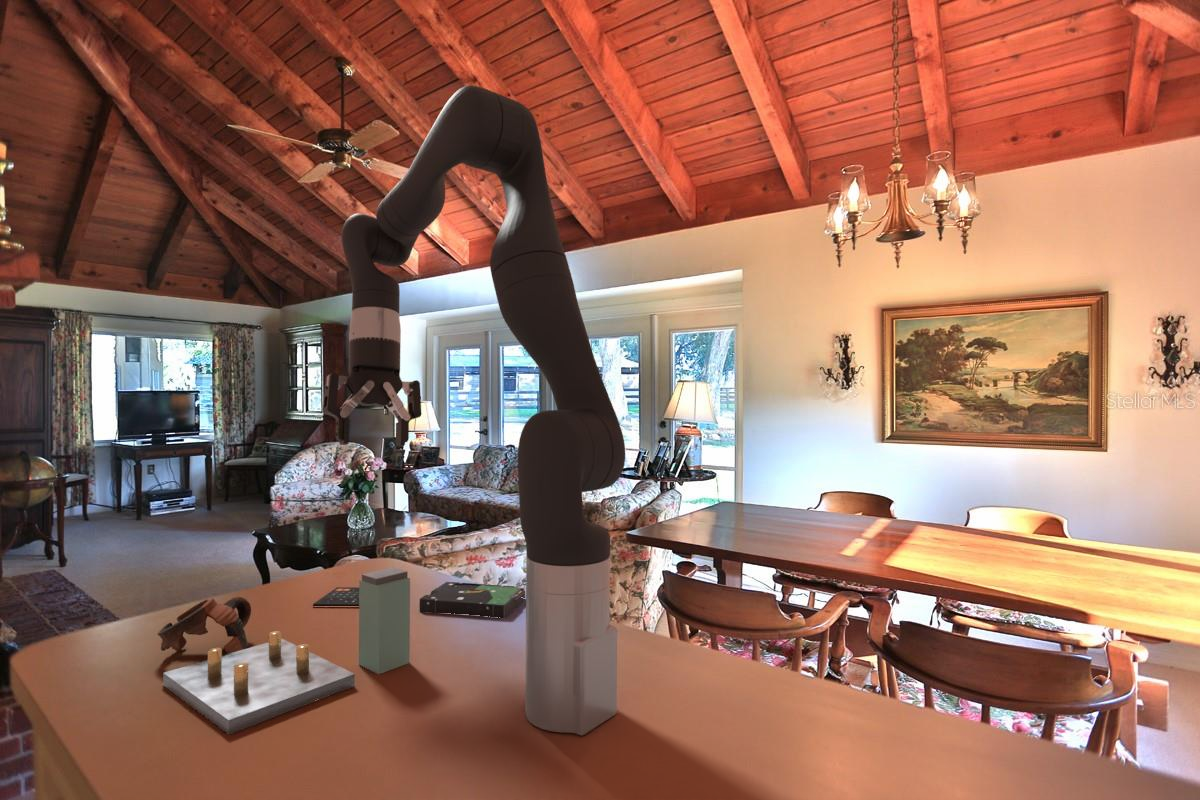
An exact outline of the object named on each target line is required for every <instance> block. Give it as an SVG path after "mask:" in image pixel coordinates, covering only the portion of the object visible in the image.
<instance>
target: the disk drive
mask: <svg viewBox="0 0 1200 800" xmlns="http://www.w3.org/2000/svg"><path fill="white" fill-rule="evenodd" d="M521 597H523V598H525V599H523V598H521ZM523 600H524V601H526V590H525V587H521V586H520V587H518V586H517V587H516V586H513V585H500V584H499V585H498V584H488V583H487V584H485V583H471V582H470V583H468V582H459V581H458V582H455V581H446V582H444V583H442V584H441V585H439V586H438V587H436V588H434V589H432V590H431V592H430V594H425V595H423V596H422V597H420V598H419V604H418V605H419V606H418V607H419V610H418V611H420V612H419V613H425V612H429V613H428V614H438V613H451V614H454V613H455V614H469V615H480V616H488V617H489V616H490V617H498V618H497V619H500V618H505V619H507V618H508V616H509V615H511V612H512V611H513V610H514V609H515V608H516V607H517V608H518V607H519V606H521V604H522V603H523V602H524V601H523ZM517 608H516V609H517ZM514 611H515V610H514ZM430 612H431V613H430ZM451 614H450V615H451ZM499 617H500V618H499Z"/></svg>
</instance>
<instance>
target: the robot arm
mask: <svg viewBox="0 0 1200 800" xmlns="http://www.w3.org/2000/svg"><path fill="white" fill-rule="evenodd" d="M417 152H418V153H416V155H415V157H414V159H413V161H412V163H411V165H410V167H409V169H408V170H407V171H406V173H405V174H404V175H403V177H402V178H401V179H400V180H399V181H398V182H397V184H396V185H395V186H394V187H393V188H392V189H391V190H390V191H389V192H388V193H387V194H386V196H385V197H384V198H383V199H382V200H381V201H380V202H379V204H378V206H377V208H376V212H375V213H376V214H375V216H376V217H375V216H373V215H369V214H365V213H354V214H352V215H350V216H349V217H348V218H347V219H346V220H345V222H344V223H343V227H342V229H341V244H342V249H343V255H344V257H345V260H346V264H347V268H348V273H349V277H350V281H351V286H352V289H351V291H352V293H351V295H352V298H351V304H352V305H351V317H350V323H349V332H348V339H349V342H348V343H349V344H348V350H349V351H348V373H347V375H345V376H344V375H339V374H338V373H337V372H332V373H330V374H328V375H327V376H326V377H325V383H324V393H323V404H322V413H323V414H324V415H326V416H327V415H328V416H331V417H333V418H334V419H335V440H336V441H337V442H339V445H342V446H343V445H348V444H349V441H350V418H348V416H349V415H350V414H351V413H352V412H353V410H354V409H355V408H357V407H358V405H361V406H362V407H367V406H373V407H376V408H377V407H379V408H382V407H386V408H387V410H388V412H390V413H392V415H393V416H394V418H395V419H396V420H397V422H396V423H395V447H403V446H405V445H406V443H408V441H409V438H410V437H409V434H410V430H409V429H410V427H409V426H410V421H412V420H414V419H418V418H420V417H421V416H422V397H421V395H422V394H421V382H420V381H419V380H416V379H415V380H413V381H402V378H401V375H400V374H401V335H402V334H401V333H402V332H401V331H402V330H401V329H402V328H401V321H400V320H401V319H400V300H401V299H400V284H399V282H398V281H397V279H396V278H394V277H392V276H390V275H389V274H387V273H385V272H383V271H381V270H380V269H379V268H378V267H377V266H376V264H378V265H382V266H384V267H390V268H392V267H393V268H395V267H400V266H402V265H404V264H405V263H406V262H407V261H408V260H409V259H410V256H411V254H412V251H413V248H414V246H415V244H416V242H417V240H418V238H419V236H420V235H421V234H422V233H423V232H425V231H424V230H426V229H427V228H428V227H429V226H431V224H433V222H434V221H435V220H436V219H437V218H438V217H439V215H440V214H441V213H442V211H443V208H444V205H445V202H446V200H445V199H446V186H445V185H446V182H445V181H446V180H445V179H446V178H445V177H446V174H447V173H449V171H451V170H452V169H453V168H454V167H457V166H459V165H461V164H463V165H465V166H469V167H471V168H475V169H478V170H481V171H486V172H488V173H492V174H495V176H497V177H498V179H499V180H500V183H501V186H502V190H503V193H504V198H505V205H506V213H505V216H504V217H505V218H504V219H503V222H502V224H501V227H500V229H499V230H498V233H497V235H496V237H495V241H494V243H493V246H492V249H491V252H490V253H491V254H490V259H489V266H490V267H489V268H490V273H491V278H492V282H493V287H494V290H495V295H496V299H497V303H498V308H499V309H500V313H501V316H502V318H503V320H504V322H505V324H506V326H507V327H508V329H509V330H510V332H511V333H512V335H513V336H514V337H515V339H516V340H517V341H518V343H519V344H520V346H522V348H523V349H524V350H525V351H526V353H527V354H528V355H529V356H530V358H531V359H532V361H534V363H535V364H536V366H538V368H539V369H540V371H541V372H542V375H543V377H544V378H545V379H546V381H547V384H548V386H549V388H550V391H551V393H552V396H553V399H554V402H555V405H556V409H552V410H551V409H550V410H549V409H547V410H542V411H539V412H536V413H535V414H533V415H532V416H530V417H529V418H528V420H527V421H526V422H525V424H524V426H523V427H522V431H521V432H520V437H519V441H518V448H517V479H518V483H517V484H518V500H519V505H518V506H519V522H520V527H521V532H522V534H523V538H524V540H525V546H526V549H525V550H526V558H525V560H526V563H525V564H526V567H525V568H526V570H525V571H526V573H525V575H526V577H525V579H526V581H525V705H524V706H525V714H524V715H525V717H526V719H527V720H528V722H529V723H530V724H531V725H533V726H535V727H537V728H539V729H542V730H546V731H549V732H555V733H570V734H571V733H572V734H576V735H579V736H584V735H586V734H587V733H589V732H590V731H592V730H594V729H595V728H597V727H599V725H601V724H602V723H604V722H605V721H608V720H609V719H610V718H612V717H613V716H615V715H616V714H617V713H618V709H617V707H618V629H617V627H616V626H615V625H611V620H610V619H611V618H610V616H611V610H610V609H611V602H610V601H611V590H610V589H611V582H610V581H611V536H610V532H609V530H608V529H607V528H606V527H604V526H602V525H600V524H598V523H597V524H596V523H594V522H590V521H589V520H588V519H587V518H586V516H585V512H584V502H583V493H586V492H592V491H599V490H603V489H606V488H609V487H611V486H613V485H614V484H615V483H616V482H617V481H618V480H619V479H620V477H621V476H622V473H623V472H624V471H623V470H624V467H625V463H626V461H625V460H626V445H625V438H624V434H623V431H622V428H621V425H620V421H619V419H618V416H617V414H616V411H615V409H614V406H613V404H612V401H611V398H610V395H609V393H608V391H607V388H606V386H605V383H604V381H603V378H602V376H601V373H600V371H599V368H598V365H597V364H598V363H597V361H596V359H595V357H594V352H593V349H592V345H591V343H590V339H589V335H588V332H587V329H586V326H585V323H584V319H583V316H582V312H581V309H580V306H579V302H578V297H577V293H576V290H575V288H576V287H575V284H574V280H573V276H572V274H571V270H570V266H569V262H568V259H567V256H566V252H565V249H564V247H563V243H562V240H561V237H560V233H559V228H558V224H557V220H556V216H555V212H554V207H553V204H552V200H551V196H550V195H551V194H550V190H549V185H548V179H547V173H546V166H545V161H544V154H543V147H542V141H541V136H540V132H539V128H538V124H537V121H536V118H535V117H534V114H533V113H532V111H531V110H530V109H529V108H528V107H527V106H525V105H524V104H522V103H521V102H519V101H517V100H515V99H512V98H509V97H507V96H505V95H502V94H499V93H497V92H495V91H492V90H491V89H487V88H484V87H482V86H478V85H473V84H472V85H470V84H469V85H464V86H462V87H460V88H459V89H458V90H456V91H455V92H454V93H453V95H451V97H449V99H448V100H447V102H446V103H445V104H444V106H443V108H442V109H441V110H440V113H439V114H438V116H437V118H436V120H435V121H434V123H433V125H432V127H431V129H430V130H429V132H428V133H427V136H426V137H425V139H424V140H423V142H422V144H421V146H420V148H419V150H418V151H417ZM343 385H345V386H346V387H347V389H348V390H349V392H350V395H349V396H348V398H347V399H346V400H345V401H344V402H343V404H342V406H340V407H338V406H337V401H338V392H339V390H340V389H342V387H343ZM401 390H403V393H404V394H405V395H406V396H407V409H406V408H405V406H404V402H403V401H402V400H401V398H400V397H399V395H398V394H399V393H400V391H401Z"/></svg>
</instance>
